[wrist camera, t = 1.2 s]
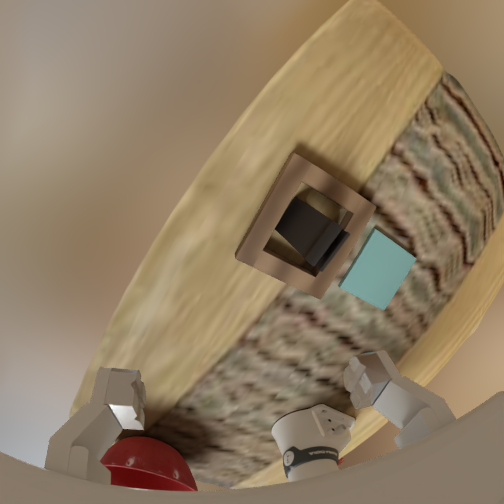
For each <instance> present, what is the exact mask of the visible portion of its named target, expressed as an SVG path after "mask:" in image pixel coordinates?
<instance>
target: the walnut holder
mask: <svg viewBox="0 0 504 504" xmlns="http://www.w3.org/2000/svg"><path fill="white" fill-rule="evenodd" d="M301 182H303V183H304V184H306V185H308V186H309V187H311V188H313V189H314V190H316V191H318V192H319V193H321V194H322V195H324V196H326V197H327V198H329V199H330V200H332V201H334V202H335V203H337V204H338V205H340V206H341V207H343V208H344V209H346V210H347V211H348V212H347V213H346V215H345V217H344V219H343V220H342V222H341V224H340V226H341V227H342V229H343V230H344V231H346V232H349V233H350V236H349V237H348V239H347V240H346V241H345V243H344V244H343V245H342V247H341V248H340V249H339V251H338V252H337V253H336V255H335V256H334V257H333V259H332V260H331V261H330V263H329V264H328V265H327V266H326V268H325V269H324V270H323V272H321V271H319V270H318V269H319V268H318V267H317V266H315V267H314V269H313V270H312V272H311V271H309V270H307V269H305V268H303V267H301V266H299V265H297V264H295V263H293V262H291V261H289V260H287V259H285V258H283V257H281V256H279V255H278V254H276V253H274V252H272V251H270V250H268V249H266V248H264V247H265V245H266V243H267V241H268V240H269V238H270V236H271V234H272V233H273V231H274V229H275V227H276V226H277V224H278V222H279V220H280V219H281V217H282V215H283V213H284V212H285V210H286V208H287V206H288V205H289V203H290V201H291V199H292V198H293V196H294V194H295V192H296V191H297V189H298V187H299V185H300V184H301ZM375 209H376V206H375V205H373V204H372V203H370V202H369V201H368V200H366V199H365V198H363V197H362V196H361V195H359V194H358V193H356V192H355V191H353V190H352V189H350V188H349V187H347V186H346V185H345V184H343V183H342V182H340V181H339V180H337V179H336V178H334V177H332V176H331V175H329V174H328V173H326V172H325V171H323V170H322V169H320V168H319V167H317V166H315V165H314V164H312V163H311V162H309V161H307V160H306V159H304V158H302V157H301V156H299V155H297V154H296V153H291V154H290V156H289V158H288V159H287V161H286V163H285V165H284V166H283V168H282V170H281V172H280V173H279V175H278V177H277V179H276V181H275V182H274V184H273V186H272V188H271V189H270V191H269V193H268V195H267V197H266V198H265V200H264V202H263V204H262V205H261V207H260V209H259V211H258V213H257V214H256V216H255V218H254V220H253V222H252V223H251V225H250V227H249V229H248V231H247V232H246V234H245V236H244V238H243V240H242V241H241V243H240V245H239V247H238V249H237V251H236V252H235V259H237V260H239V261H241V262H243V263H245V264H247V265H250V266H252V267H254V268H256V269H258V270H260V271H262V272H264V273H266V274H268V275H270V276H272V277H274V278H276V279H278V280H280V281H283V282H285V283H287V284H289V285H291V286H293V287H295V288H297V289H299V290H301V291H303V292H305V293H308V294H310V295H312V296H314V297H316V298H318V299H321V298H322V296H323V295H324V293H325V292H326V290H327V289H328V287H329V286H330V284H331V282H332V281H333V279H334V278H335V276H336V275H337V273H338V271H339V270H340V268H341V267H342V265H343V263H344V262H345V260H346V258H347V257H348V255H349V254H350V252H351V250H352V249H353V247H354V245H355V244H356V242H357V240H358V238H359V237H360V235H361V233H362V232H363V230H364V228H365V226H366V225H367V223H368V221H369V219H370V218H371V216H372V214H373V212H374V210H375Z"/></svg>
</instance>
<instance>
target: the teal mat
mask: <svg viewBox="0 0 504 504" xmlns="http://www.w3.org/2000/svg"><path fill="white" fill-rule="evenodd" d="M415 260H416V258H415V257H413V256H412V255H411V254H409V253H408V252H407V251H405V250H404V249H403V248H401V247H400V246H399V245H397V244H396V243H395V242H393V241H392V240H390V239H389V238H388V237H386V236H385V235H383V234H382V233H381V232H379V231H378V230H376V229H375V228H373V229H372V231H371V233H370V235H369V236H368V238H367V240H366V242H365V243H364V245H363V247H362V248H361V250H360V252H359V253H358V255H357V257H356V258H355V260H354V261H353V263H352V265H351V266H350V268H349V270H348V271H347V273H346V274H345V276H344V277H343V279H342V281H341V282H340V284H339V285H338V286H339V287H340V288H341V289H343V290H345V291H347V292H349V293H351V294H353V295H355V296H357V297H359V298H361V299H363V300H365V301H366V302H368V303H370V304H372V305H374V306H376V307H378V308H380V309H382V310H385V308H386V307H387V305H388V304H389V302H390V301H391V299H392V298H393V296H394V295H395V293H396V291H397V290H398V288H399V287H400V285H401V284H402V282H403V280H404V279H405V277H406V276H407V274H408V272H409V271H410V269H411V267H412V266H413V264H414V262H415Z"/></svg>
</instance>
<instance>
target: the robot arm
mask: <svg viewBox="0 0 504 504" xmlns="http://www.w3.org/2000/svg"><path fill="white" fill-rule="evenodd" d="M349 364H350V365H349V366H348V367H347V368H346V369H345V371H344V373H343V383H344V386H345V388H346V390H348V391H349V392H351V395H350V399H351V401H352V403H353V406H354V408H355V410H356V409H361V408H365V407H369V406H372V405H373V406H372V407H373V408H375V409H376V410H377V411H378V412H380V413H381V414H382V415H383V416H385V417H386V418H387V419H388V420H390V421H391V422H392V423H394V424H395V425H396V426H397V427H398V428H400V429H401V431H400V432H399V433H398V434H397V435H396V436H395V439H394V440H395V442H396V444H397V446H398V449H397V450H395V451H392V452H390V453H387V454H385V455H382V456H380V457H377V458H374V459H372V460H369V461H366V462H363V463H360V464H357V465H354V466H351V467H348V468H345V469H341V470H339V469H338V465H340V464H341V463H342V462H343V461H344V460H343V461H342V459H343V458H341V459H340V460H339V461H338V456H339V453H340V452H341V451H342V450H343V449H344V448H345V447H346V446H347V444H348V443H349V441H350V439H351V433H350V430H351V429H352V427H353V426H354V424H355V418H353V417H351V416H349V415H346V414H344V413H342V412H339V411H337V410H335V409H332V408H330V407H328V406H326V405H324V404H319V405H316V406H314V407H312V408H310V409H306V410H301V411H297V412H294V413H291V414H289V415H286V416H285V417H283V418H281V419H280V420H279V421H277V422H276V423H275V425H274V426H273V428H272V435H273V437H274V438H275V440H276V442H277V444H278V447H279V449H280V451H281V454H282V457H283V466H284V470H285V474H286V477H287V478H288V479H289V482H287V483H281V484H275V485H269V486H262V487H254V488H245V489H234V490H219V491H165V490H150V489H140V488H131V487H123V486H116V485H111V472H110V471H109V470H108V469H107V468H106V467H105V466H104V465H103V464H102V463H101V462H100V460H101V458H102V457H103V456H104V454H105V453H106V452H107V450H108V449H109V448H110V446H111V445H112V444H113V442H114V441H115V440H116V438H117V437H118V436H119V434H120V433H121V432H122V430H123V429H135V430H144V419H145V415H144V412H143V410H142V409H143V408H144V406H145V405H146V391H145V386H144V383H143V382H142V381H141V374H140V371H139V370H129V369H117V368H107V367H100V368H99V370H98V372H97V376H96V380H95V384H94V389H93V393H92V398H91V402H90V403H89V402H87V403H86V404H85V405H84V406H83V407H82V408H81V409H80V410H78V411H77V412H76V413H75V414H74V415H73V416H72V417H71V418H70V419H69V420H68V421H67V422H66V423H65V424H64V425H63V426H62V427H61V428H60V429H59V430H58V431H57V432H56V433H55V434H54V435H53V436H52V437H51V438H50V441H49V445H48V451H47V456H46V461H45V467H44V468H41V467H38V466H35V465H32V464H29V463H27V462H24V461H21V460H19V459H16V458H14V457H11V456H9V455H7V454H4V453H2V452H0V504H504V391H501V392H498V393H496V394H495V395H493V396H492V397H491V398H489V399H488V400H486V401H485V402H484V403H482V404H481V405H479V406H478V407H476V408H475V409H473V410H472V411H470V412H468V413H467V414H465V415H463V416H462V417H460V418H458V419H457V420H456V418H455V416H454V415H453V413H452V411H451V410H450V408H449V407H448V405H447V403H446V402H445V400H444V399H443V398H441V397H440V396H438V395H436V394H434V393H433V392H431V391H429V390H427V389H426V388H424V387H422V386H421V385H419V384H417V383H415V382H414V381H412V380H410V379H409V378H407V377H405V376H404V377H402V376H401V374H400V373H399V371H398V369H397V368H396V366H395V365H394V363H393V361H392V360H391V358H390V357H389V355H388V354H387V352H386V351H385V350H380V351H375V352H369V353H364V354H360V355H355V356H352V357H351V358H350V360H349ZM341 461H342V462H341Z"/></svg>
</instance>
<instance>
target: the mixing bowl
mask: <svg viewBox="0 0 504 504" xmlns="http://www.w3.org/2000/svg"><path fill="white" fill-rule="evenodd" d="M100 462H101V463H102V464H103V465H104V466H105V467H106V468H107V469H108V470H109V471H110V472H111V485H116V486H123V487H131V488H140V489H150V490H165V491H198V489H197V486H196V483H195V480H194V478H193V476H192V473H191V471H190V469H189V467H188V465H187V463H186V462H185V460H184V458H183V457H182V456H181V455H180V453H179V452H178V451H176V450H175V449H174V448H173V447H171V446H169V445H168V444H166V443H164V442H162V441H160V440H157V439H154V438H150V437H143V436H139V437H128V438H124V439H122V440H120V441H118V442H117V443H115V444H114V445H113V446H112V447H110V448H109V449H108V450H107V452H106V453H105V454H104V456H103V457H102V458H101V460H100Z"/></svg>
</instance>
